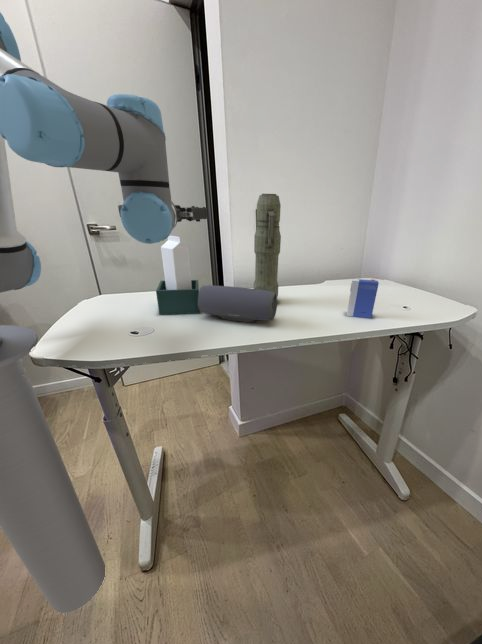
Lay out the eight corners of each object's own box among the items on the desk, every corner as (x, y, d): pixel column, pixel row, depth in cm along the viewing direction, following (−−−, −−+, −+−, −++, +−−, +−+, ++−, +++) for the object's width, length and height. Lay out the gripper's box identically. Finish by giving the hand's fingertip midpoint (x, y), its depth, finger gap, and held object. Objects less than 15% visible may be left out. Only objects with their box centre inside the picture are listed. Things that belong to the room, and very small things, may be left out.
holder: (159, 314, 92) (155, 290, 88) (163, 302, 103) (160, 280, 99) (199, 313, 94) (198, 289, 91) (199, 301, 105) (198, 279, 102)
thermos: (271, 296, 113) (276, 194, 97) (282, 306, 103) (289, 194, 87) (249, 297, 111) (250, 193, 95) (258, 307, 101) (260, 193, 84)
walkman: (370, 315, 97) (378, 279, 91) (371, 318, 94) (379, 281, 89) (346, 313, 98) (352, 277, 93) (346, 315, 96) (352, 279, 90)
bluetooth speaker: (276, 318, 92) (278, 287, 88) (270, 329, 84) (271, 295, 80) (210, 310, 97) (208, 280, 92) (198, 320, 89) (195, 287, 84)
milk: (179, 309, 95) (171, 237, 84) (167, 305, 98) (158, 235, 87) (193, 305, 99) (187, 236, 89) (182, 301, 102) (175, 234, 92)
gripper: (94, 234, 57) (119, 225, 76) (220, 235, 62) (215, 227, 80) (84, 191, 54) (113, 193, 72) (219, 195, 58) (214, 196, 77)
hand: (167, 211), depth 76 cm, fingers open, 13 cm apart
